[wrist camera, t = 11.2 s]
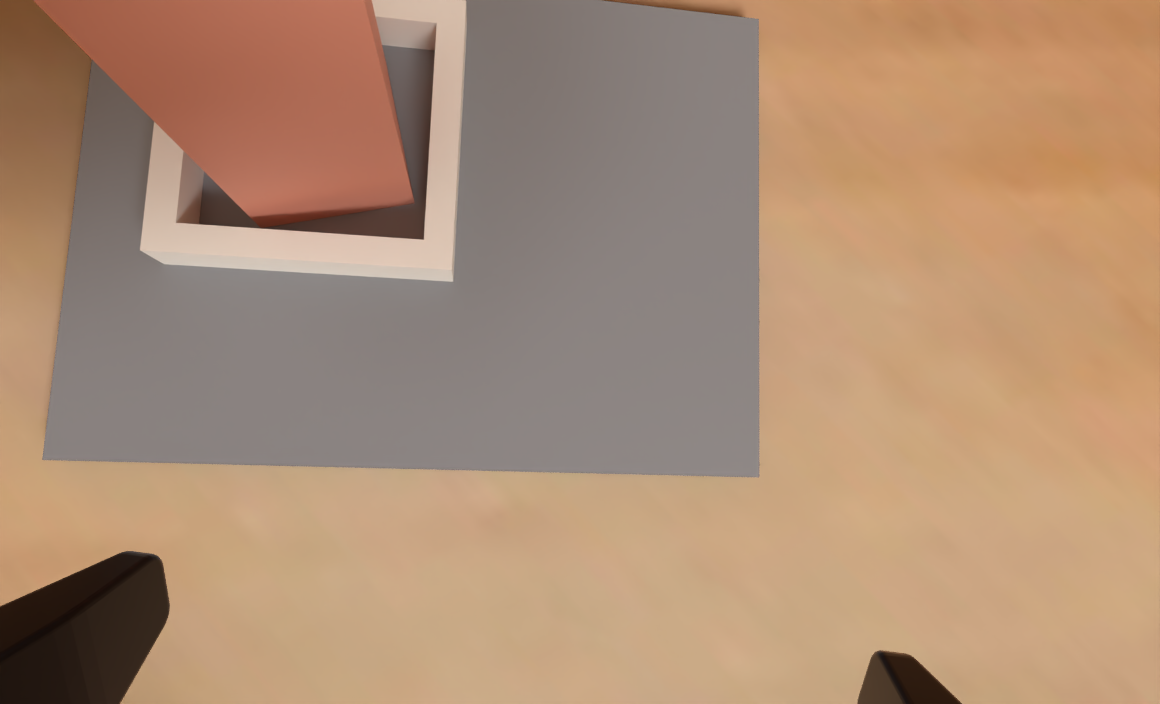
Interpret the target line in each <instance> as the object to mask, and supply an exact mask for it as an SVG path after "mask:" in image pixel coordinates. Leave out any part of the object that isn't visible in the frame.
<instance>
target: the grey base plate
mask: <svg viewBox="0 0 1160 704" xmlns="http://www.w3.org/2000/svg"><path fill="white" fill-rule="evenodd" d="M372 4H373V8H374V12H375V17H376V21H377V25H378V30H379V34H380V38H381V43H382V47H383V51H384V56H385V60H386V64H387V69H388V74H389V79H390V84H391V89H392V94H393V99H394V104H395V109H396V114H397V119H398V124H399V129H400V133H401V138H402V143H403V148H404V153H405V158H406V163H407V168H408V173H409V178H410V183H411V188H412V193H413V198H414V204H407V205H401V206H395V207H389V208H383V209H376V210H370V211H364V212H358V213H352V214H345V215H339V216H333V217H327V218H321V219H314V220H308V221H302V222H296V223H290V224H283V225H277V226H271V227H265V228H260V227H259V226H258V225H257V224H256V223H255V222H254V221H253V220H252V219H251V218H250V217H249V216H248V215H247V214H246V213H245V212H244V211H243V210H242V209H241V208H240V207H239V206H238V205H237V204H236V203H235V202H234V201H233V200H232V199H231V198H230V197H229V196H228V195H227V194H226V193H225V192H224V191H223V190H222V189H221V188H220V187H219V186H218V185H217V184H216V183H215V182H214V181H213V180H212V179H211V178H210V177H209V176H208V175H207V174H206V173H205V172H204V171H203V170H202V169H201V168H200V167H199V166H198V165H197V164H196V163H195V162H194V161H193V160H192V159H191V158H190V157H189V156H188V155H187V154H186V153H185V152H184V151H183V150H182V149H181V148H180V147H179V146H178V145H177V144H176V143H175V142H174V141H173V140H172V139H171V138H170V137H169V136H168V135H167V134H166V133H165V132H164V131H163V130H162V129H161V128H160V127H159V126H158V125H157V124H156V123H155V122H154V121H153V120H152V119H151V118H150V117H149V116H148V115H147V114H146V113H145V112H144V111H143V110H142V109H141V108H140V107H139V106H138V105H137V104H136V103H135V102H134V101H133V100H132V99H131V98H130V97H129V96H128V95H127V94H126V93H125V92H124V91H123V90H122V89H121V88H120V87H119V86H118V85H117V84H116V83H115V82H114V81H113V80H112V79H111V78H110V77H109V76H108V75H107V74H106V73H105V72H104V71H103V70H102V69H101V68H100V67H99V66H98V65H97V64H96V63H95V62H94V61H93V60H92V62H91V70H90V78H89V87H88V95H87V103H86V111H85V119H84V127H83V135H82V143H81V151H80V159H79V167H78V176H77V184H76V192H75V200H74V208H73V216H72V224H71V232H70V240H69V248H68V256H67V265H66V273H65V281H64V289H63V297H62V305H61V313H60V321H59V329H58V337H57V345H56V354H55V362H54V370H53V378H52V386H51V394H50V402H49V410H48V418H47V426H46V434H45V442H44V451H43V459H42V460H68V461H109V462H150V463H191V464H232V465H273V466H314V467H355V468H396V469H437V470H478V471H519V472H560V473H601V474H642V475H683V476H724V477H759V19H754V18H746V17H737V16H729V15H720V14H712V13H703V12H695V11H686V10H678V9H670V8H661V7H653V6H644V5H636V4H627V3H619V2H611V1H602V0H372Z"/></svg>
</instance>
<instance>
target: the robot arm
mask: <svg viewBox="0 0 1160 704" xmlns="http://www.w3.org/2000/svg"><path fill="white" fill-rule="evenodd" d="M169 607H170V604H169V597H168V591H167V585H166V579H165V573H164V567H163V563H162V560H161V559H160V558H159V557H158V556H156V555H154V554H149V553H141V552H134V551H126V552H122V553H119V554H117V555H115V556H113V557H110V558H108V559H106V560H104V561H101V562H99V563H97V564H95V565H92V566H90V567H88V568H86V569H83V570H81V571H79V572H77V573H74V574H72V575H70V576H68V577H65V578H63V579H61V580H59V581H56V582H54V583H52V584H50V585H47V586H45V587H43V588H41V589H38V590H36V591H34V592H32V593H29V594H27V595H25V596H23V597H20V598H18V599H16V600H14V601H11V602H9V603H7V604H5V605H2V606H0V704H120V703H121V701H122V699H123V697H124V696H125V694H126V692H127V690H128V689H129V687H130V685H131V683H132V682H133V680H134V678H135V676H136V675H137V673H138V671H139V669H140V668H141V666H142V664H143V662H144V661H145V659H146V657H147V655H148V654H149V652H150V650H151V648H152V647H153V645H154V643H155V641H156V640H157V638H158V636H159V634H160V633H161V631H162V629H163V627H164V625H165V623H166V621H167V618H168V615H169ZM857 704H962V703H961V702H960V701H959V700H958V699H957V698H956V697H955V696H954V695H952V694H951V693H950V692H949V691H948V690H947V689H946V688H945V687H944V686H943V685H942V684H941V683H940V682H939V681H938V680H937V679H936V678H935V677H934V676H933V675H932V674H931V673H930V672H929V671H928V670H927V669H926V668H925V667H923V666H922V665H921V664H920V663H919V662H918V661H917V660H916V659H915V658H914V657H912V656H911V655H908V654H905V653H897V652H890V651H877V652H875V653H874V654H873V655H872V657H871V660H870V663H869V666H868V669H867V672H866V675H865V678H864V682H863V685H862V688H861V691H860V694H859V698H858V703H857Z"/></svg>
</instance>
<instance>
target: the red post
mask: <svg viewBox="0 0 1160 704" xmlns="http://www.w3.org/2000/svg"><path fill="white" fill-rule="evenodd" d="M33 1H34V2H35V3H36V4H37V5H38V6H39V7H40V8H41V9H42V10H43V11H44V12H45V13H46V14H47V15H48V16H49V17H50V18H51V19H52V20H53V21H54V22H55V23H56V24H57V25H58V26H59V27H60V28H61V29H62V30H63V31H64V32H65V33H66V34H67V35H68V36H69V37H70V38H71V39H72V40H73V41H74V42H75V43H76V44H77V45H78V46H79V47H80V48H81V49H82V50H83V51H84V52H85V53H86V54H87V55H88V56H89V57H90V58H91V59H92V60H93V61H94V62H95V63H96V64H97V65H98V66H99V67H100V68H101V69H102V70H103V71H104V72H105V73H106V74H107V75H108V76H109V77H110V78H111V79H112V80H113V81H114V82H115V83H116V84H117V85H118V86H119V87H120V88H121V89H122V90H123V91H124V92H125V93H126V94H127V95H128V96H129V97H130V98H131V99H132V100H133V101H134V102H135V103H136V104H137V105H138V106H139V107H140V108H141V109H142V110H143V111H144V112H145V113H146V114H147V115H148V116H149V117H150V118H151V119H152V120H153V121H154V122H155V123H156V124H157V125H158V126H159V127H160V128H161V129H162V130H163V131H164V132H165V133H166V134H167V135H168V136H169V137H170V138H171V139H172V140H173V141H174V142H175V143H176V144H177V145H178V146H179V147H180V148H181V149H182V150H183V151H184V152H185V153H186V154H187V155H188V156H189V157H190V158H191V159H192V160H193V161H194V162H195V163H196V164H197V165H198V166H199V167H200V168H201V169H202V170H203V171H204V172H205V173H206V174H207V175H208V176H209V177H210V178H211V179H212V180H213V181H214V182H215V183H216V184H217V185H218V186H219V187H220V188H221V189H222V190H223V191H224V192H225V193H226V194H227V195H228V196H229V197H230V198H231V199H232V200H233V201H234V202H235V203H236V204H237V205H238V206H239V207H240V208H241V209H242V210H243V211H244V212H245V213H246V214H247V215H248V216H249V217H250V218H251V219H252V220H253V221H254V222H255V223H256V224H257V225H258V226H259V227H260V228H265V227H271V226H277V225H283V224H290V223H296V222H302V221H308V220H314V219H321V218H327V217H333V216H339V215H345V214H352V213H358V212H364V211H370V210H376V209H383V208H389V207H395V206H401V205H407V204H414V198H413V193H412V188H411V183H410V178H409V173H408V168H407V163H406V158H405V153H404V148H403V143H402V138H401V133H400V129H399V124H398V119H397V114H396V109H395V104H394V99H393V94H392V89H391V84H390V79H389V74H388V69H387V64H386V60H385V56H384V51H383V47H382V43H381V38H380V34H379V30H378V25H377V21H376V17H375V12H374V8H373V4H372V0H33Z"/></svg>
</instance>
